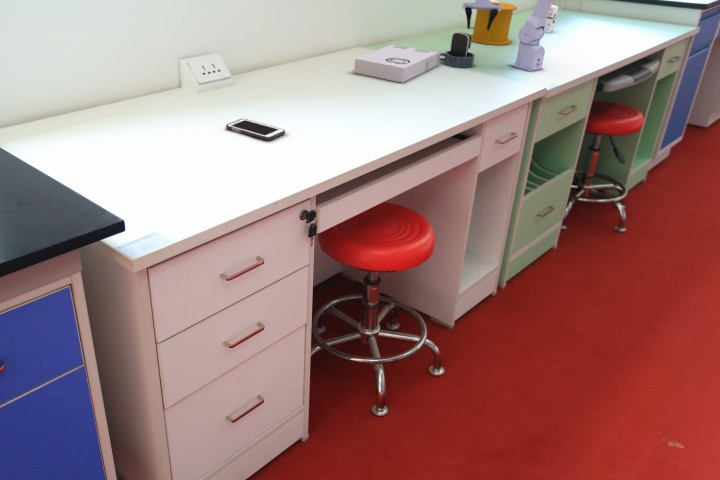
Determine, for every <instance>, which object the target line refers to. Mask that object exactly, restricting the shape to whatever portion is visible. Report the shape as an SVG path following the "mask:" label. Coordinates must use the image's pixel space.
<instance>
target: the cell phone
mask: <svg viewBox="0 0 720 480" xmlns="http://www.w3.org/2000/svg"><path fill="white" fill-rule="evenodd" d="M225 128H226V129H228V130H231V131H235V132H238V133H240V134H245V135H247V136H252V137H255V138H259V139H262V140H265V141H271V140H274V139H276V138H278V137H280V136H283V135H285V134H286V130H285V129H283V128H281V127H280V128H279V127H277V126H272V125H269V124H265V123H262V122H258V121H256V120H255V121H254V120H251V119H247V118H239V119H237V120H235V121H232V122H229V123H227V124H226V125H225Z"/></svg>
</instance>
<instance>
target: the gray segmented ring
mask: <svg viewBox="0 0 720 480" xmlns="http://www.w3.org/2000/svg"><path fill="white" fill-rule="evenodd" d="M441 56H442V57H444V58H442V57H441ZM475 56H476V54H475V53H472V52H471V51H468V53H467V57H456V56H452V55H450V50H447V51H445V52H441V54H440V60H439V62H443V64H444V65H445V66H448V67H452V68H459V69H460V68H461V69H468V68H472V67H474V63H475V62H474V60H475Z"/></svg>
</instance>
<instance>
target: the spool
mask: <svg viewBox="0 0 720 480" xmlns="http://www.w3.org/2000/svg"><path fill="white" fill-rule="evenodd" d="M490 4H493V5H501V11H498V14H497V15H496V17H495V18H494V20H493V22H492V24H491V26H490V29H489V30H487V25H488V21H489V13H490V10H479V9H476V14H475V20H474V27H473V32H472V34H470V35H471V42H474V43H478V44H484V45H489V46H490V45H491V46H506V45H510V44H511V39H510V38H509V34H510V28H511V22H512V17H513V12H514V11H517V10H518V6H517V5H515V4H512V3H506V2H501V1H498V2H490ZM477 8H480V7H477Z"/></svg>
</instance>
